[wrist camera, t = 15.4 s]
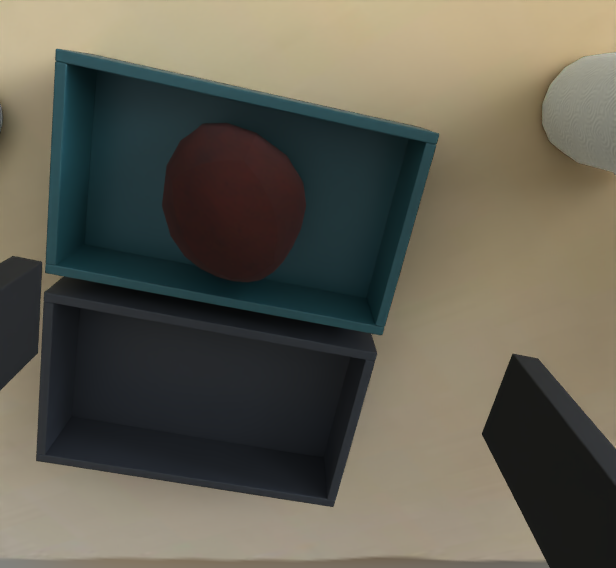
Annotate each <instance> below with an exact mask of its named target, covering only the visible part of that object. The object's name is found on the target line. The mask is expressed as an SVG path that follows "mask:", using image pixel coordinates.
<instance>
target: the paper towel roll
mask: <svg viewBox="0 0 616 568" xmlns="http://www.w3.org/2000/svg"><path fill="white" fill-rule="evenodd" d="M542 125H543V127H544V130H545V132H546V134H547V137H548V139H549V141H550V142H551V143H552V144H553V145H554V146H556V147H557V148H558V149H559V150H560V151H562V152H563V153H564V154H566V155H567V156H569V157H570V158H572V159H573V160H575V161H576V162H577V163H581V164H584V165H588V166H592V167H595V168H599V169H603V170H606V171H610V172H613V173H614V174H615V175H616V52H614V53H605V54H598V55H591V56H584V57H582V58H580V59H579V60H577V61H575V62H573V63H572V64H570V65H568V66H567V67H565V68H564V69H563V70H562V71H561V72H560V74H559V75H558V76H557V77H556V78H555V79H554V81H553V82H552V83H551V84H550V86H549V88H548V91H547V94H546V96H545V99H544V101H543V104H542Z"/></svg>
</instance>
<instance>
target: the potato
mask: <svg viewBox="0 0 616 568" xmlns="http://www.w3.org/2000/svg"><path fill="white" fill-rule="evenodd" d="M162 208H163V212H164V215H165V218H166V222H167V225H168V228H169V232H170V236H171V237H172V239H173V240H174V242H175V243H176V245H177V246H178V247H179V249H180V250H181V252H182V253H183V255H184V256H185V257H186V258H187V259H189V260H190V261H191V262H192V263H194V264H195V265H196V266H198V267H199V268H200V269H202V270H204V271H206V272H208V273H210V274H212V275H214V276H216V277H220V278H223V279H227V280H230V281H236V282H253V281H258V280H261V279H263V278H265V277H266V276H268V275H270V274H271V273H273V272H274V271H275V270H276V269H277V268H278V267H279V266H280V265H281V264H282V263H283V261H284V260H285V258H286V257H287V255H288V254H289V252H290V250H291V249H292V247H293V245H294V243H295V241H296V239H297V236H298V234H299V232H300V230H301V227H302V223H303V218H304V214H305V210H306V199H305V191H304V183H303V181H302V179H301V178H300V176H299V174H298V173H297V171H296V170H295V168H294V166H293V165H292V163H291V161H290V160H289V158H288V157H287V155H286V154H284V153H283V152H282V151H280V150H279V149H278V148H276V147H275V146H274V145H272V144H271V143H270V142H268V141H267V140H266V139H264V138H263V137H262V136H260V135H259V134H258V133H255V132H252V131H249V130H247V129H244V128H241V127H238V126H235V125H232V124H229V123H205V124H202V125H200V126H199V127H198V128H197V129H196V130H194V131H193V132H192V133H191V134H189V135H188V136H186V137H185V138H183V139H182V140H180V142H179V144H178V146H177V148H176V149H175V151H174V153H173V155H172V157H171V158H170V160H169V162H168V164H167V166H166V175H165V183H164V192H163V200H162Z"/></svg>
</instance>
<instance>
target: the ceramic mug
mask: <svg viewBox="0 0 616 568" xmlns="http://www.w3.org/2000/svg"><path fill="white" fill-rule="evenodd" d="M2 124H3V112H2V107H1V104H0V132H1V128H2Z"/></svg>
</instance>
